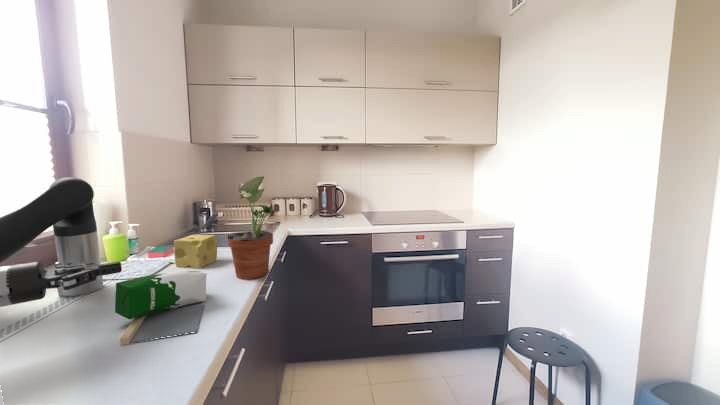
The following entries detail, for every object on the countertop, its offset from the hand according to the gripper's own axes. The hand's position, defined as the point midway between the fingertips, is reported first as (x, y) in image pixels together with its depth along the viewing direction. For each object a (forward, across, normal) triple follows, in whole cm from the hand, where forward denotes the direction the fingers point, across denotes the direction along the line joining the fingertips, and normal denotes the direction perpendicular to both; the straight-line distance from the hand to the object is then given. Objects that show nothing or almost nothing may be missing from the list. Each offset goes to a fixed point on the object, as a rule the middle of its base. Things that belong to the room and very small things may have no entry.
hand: (121, 266), depth 72 cm
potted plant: (+35, -15, -14) cm, 41 cm away
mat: (+7, +5, -14) cm, 17 cm away
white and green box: (-1, +1, -8) cm, 8 cm away
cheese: (+23, -39, -14) cm, 47 cm away
